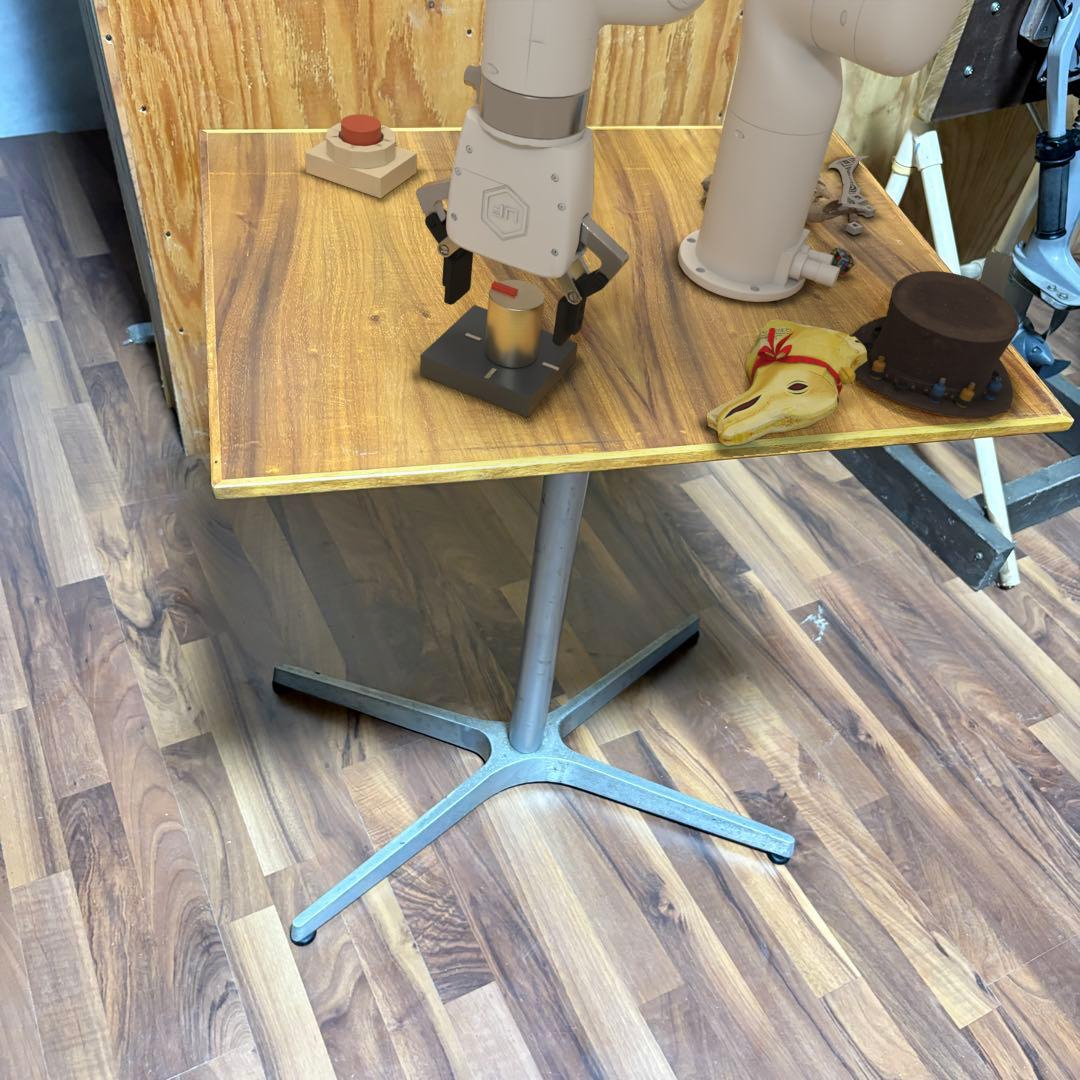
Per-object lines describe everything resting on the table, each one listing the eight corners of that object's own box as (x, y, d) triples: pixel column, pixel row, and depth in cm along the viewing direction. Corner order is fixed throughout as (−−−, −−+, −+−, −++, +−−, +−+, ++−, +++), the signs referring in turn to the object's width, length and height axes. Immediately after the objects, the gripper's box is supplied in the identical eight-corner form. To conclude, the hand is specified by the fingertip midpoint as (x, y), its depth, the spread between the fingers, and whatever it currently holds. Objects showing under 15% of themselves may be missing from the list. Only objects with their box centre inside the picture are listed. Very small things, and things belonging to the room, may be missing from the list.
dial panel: (578, 363, 91) (581, 342, 90) (530, 418, 85) (533, 397, 84) (472, 323, 94) (474, 302, 92) (419, 374, 88) (420, 353, 86)
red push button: (388, 138, 109) (388, 121, 108) (367, 152, 107) (366, 135, 106) (355, 127, 110) (355, 110, 109) (333, 140, 108) (332, 123, 107)
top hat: (1016, 444, 89) (1073, 340, 82) (838, 402, 91) (877, 296, 83) (1007, 346, 100) (1056, 246, 92) (847, 311, 101) (882, 209, 94)
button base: (416, 172, 112) (417, 135, 110) (380, 198, 108) (380, 160, 105) (344, 148, 115) (343, 111, 112) (306, 172, 110) (303, 135, 107)
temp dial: (547, 348, 89) (554, 287, 85) (522, 374, 86) (529, 313, 82) (500, 330, 90) (505, 269, 86) (474, 356, 87) (479, 294, 83)
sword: (829, 231, 112) (877, 239, 112) (831, 224, 111) (879, 231, 111) (826, 153, 126) (869, 159, 126) (828, 146, 126) (871, 152, 125)
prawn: (826, 109, 119) (787, 161, 124) (747, 70, 114) (709, 126, 118) (913, 251, 105) (865, 303, 109) (827, 214, 99) (780, 271, 103)
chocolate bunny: (885, 381, 89) (792, 484, 81) (770, 358, 96) (674, 452, 88) (882, 308, 85) (784, 410, 77) (762, 290, 91) (661, 382, 84)
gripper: (396, 84, 73) (391, 302, 85) (627, 159, 68) (588, 377, 80) (451, 53, 78) (439, 262, 90) (669, 121, 73) (627, 332, 85)
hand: (510, 316), depth 85 cm, fingers open, 9 cm apart
